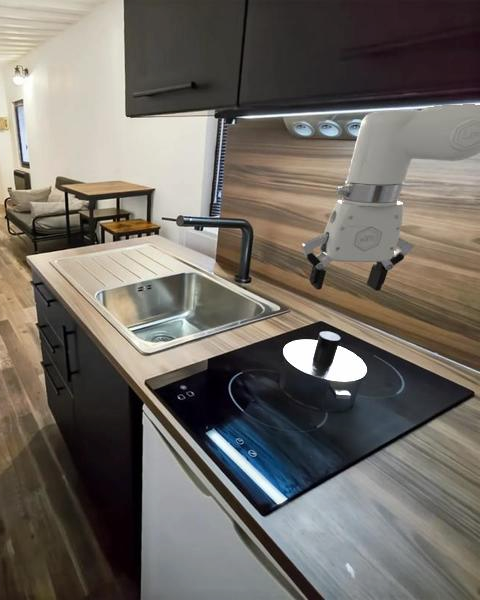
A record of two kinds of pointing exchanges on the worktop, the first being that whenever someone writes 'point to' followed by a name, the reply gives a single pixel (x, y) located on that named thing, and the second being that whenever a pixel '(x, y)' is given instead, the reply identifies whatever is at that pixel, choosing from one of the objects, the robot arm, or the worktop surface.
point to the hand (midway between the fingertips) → (344, 287)
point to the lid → (325, 359)
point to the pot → (317, 391)
